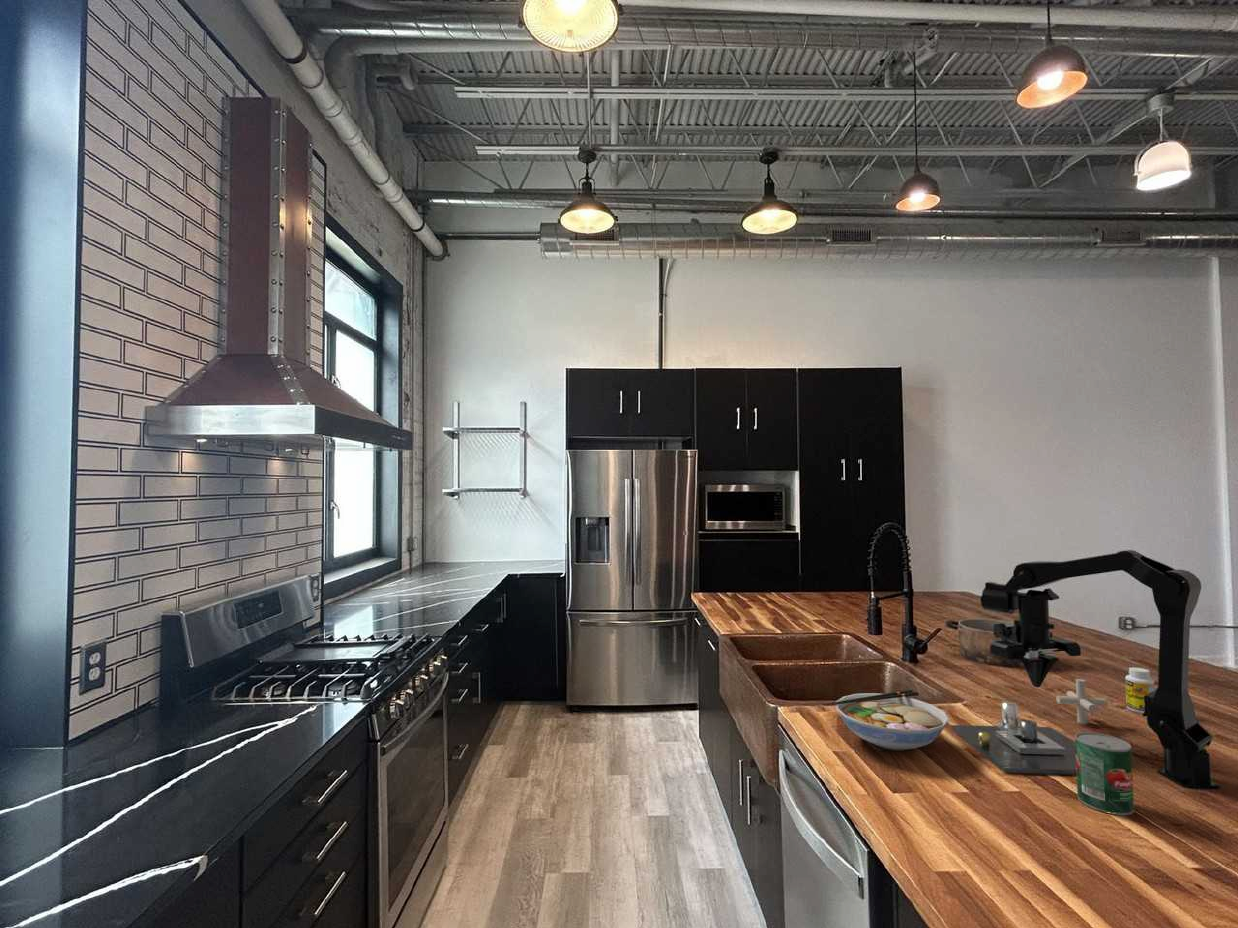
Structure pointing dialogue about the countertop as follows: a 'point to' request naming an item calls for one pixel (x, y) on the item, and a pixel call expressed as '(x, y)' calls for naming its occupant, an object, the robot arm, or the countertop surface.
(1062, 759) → the post base
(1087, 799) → the canned tomato
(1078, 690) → the pipe connector
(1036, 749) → the metal knob latch
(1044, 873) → the countertop surface
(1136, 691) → the supplement bottle
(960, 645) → the cooking pot
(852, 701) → the ramen bowl
